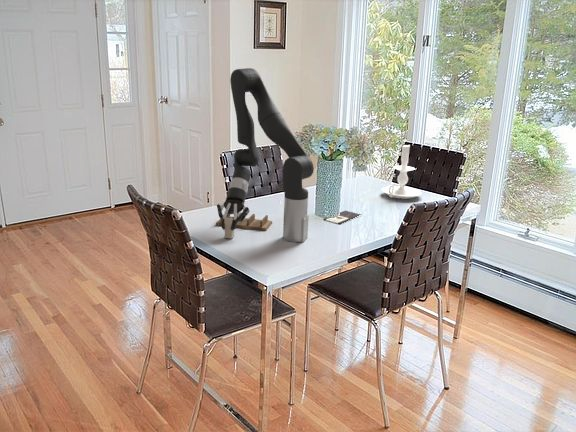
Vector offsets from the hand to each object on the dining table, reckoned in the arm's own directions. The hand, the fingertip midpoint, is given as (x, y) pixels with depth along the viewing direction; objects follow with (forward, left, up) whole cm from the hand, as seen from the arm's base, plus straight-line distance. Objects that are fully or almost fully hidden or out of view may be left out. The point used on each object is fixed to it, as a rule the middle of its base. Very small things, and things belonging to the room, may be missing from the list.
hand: (227, 229), depth 205 cm
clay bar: (0, -2, -4) cm, 5 cm away
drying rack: (+1, -20, -4) cm, 21 cm away
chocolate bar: (-36, -47, -5) cm, 59 cm away
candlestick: (-56, -94, -5) cm, 109 cm away
